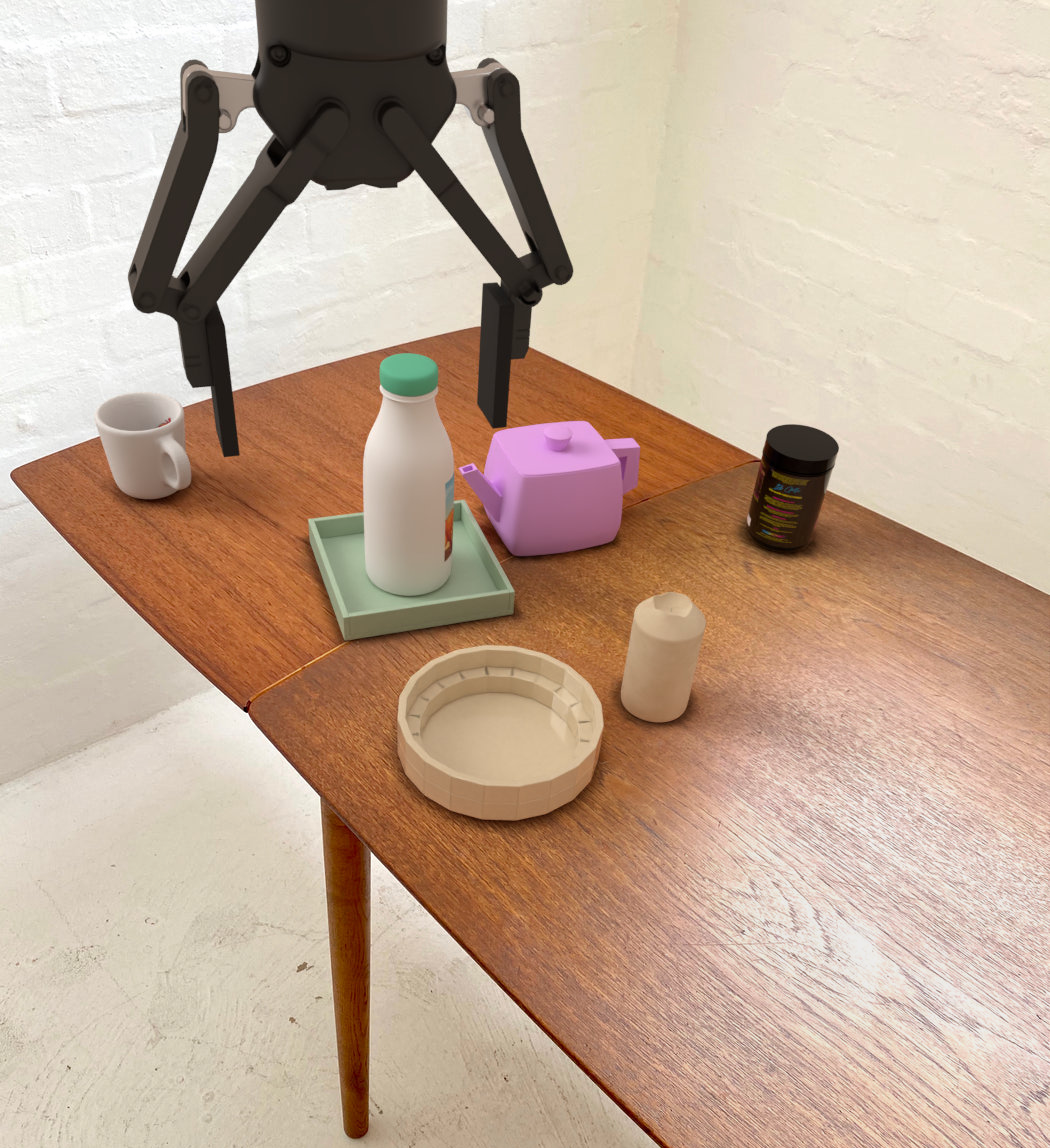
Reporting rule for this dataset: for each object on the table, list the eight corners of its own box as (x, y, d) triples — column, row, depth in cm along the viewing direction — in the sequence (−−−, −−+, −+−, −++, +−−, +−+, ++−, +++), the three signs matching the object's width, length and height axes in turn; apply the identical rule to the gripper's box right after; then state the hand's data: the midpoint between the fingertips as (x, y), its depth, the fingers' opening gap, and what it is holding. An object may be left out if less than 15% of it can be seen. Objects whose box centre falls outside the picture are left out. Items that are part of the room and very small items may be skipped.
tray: (344, 641, 93) (343, 617, 91) (309, 541, 103) (307, 518, 102) (513, 614, 97) (515, 591, 96) (463, 521, 108) (464, 499, 106)
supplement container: (816, 558, 107) (845, 463, 100) (747, 553, 107) (771, 457, 100) (806, 520, 112) (832, 427, 105) (739, 514, 112) (761, 421, 105)
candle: (670, 732, 88) (692, 634, 81) (608, 706, 89) (624, 608, 83) (697, 693, 91) (720, 596, 84) (637, 669, 93) (655, 572, 86)
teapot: (474, 570, 102) (479, 473, 95) (440, 509, 109) (442, 414, 102) (651, 542, 107) (667, 448, 100) (607, 485, 114) (620, 394, 107)
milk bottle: (432, 607, 96) (436, 395, 83) (350, 585, 98) (342, 373, 84) (464, 560, 102) (472, 354, 88) (386, 540, 103) (383, 334, 90)
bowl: (428, 843, 78) (429, 804, 75) (377, 701, 88) (376, 662, 85) (627, 800, 82) (635, 762, 79) (556, 669, 92) (560, 632, 90)
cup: (228, 500, 107) (218, 426, 102) (156, 531, 103) (142, 454, 97) (164, 456, 112) (152, 383, 107) (93, 483, 108) (76, 408, 102)
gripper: (-6, -68, 36) (111, 496, 50) (688, -50, 43) (618, 439, 57) (-6, -105, 41) (100, 417, 55) (614, -83, 48) (566, 373, 62)
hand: (364, 429), depth 56 cm, fingers open, 13 cm apart
